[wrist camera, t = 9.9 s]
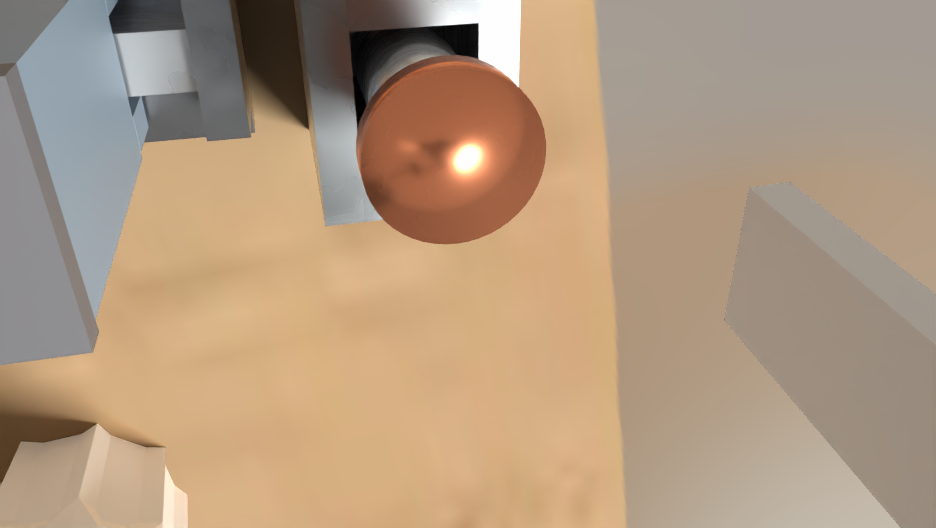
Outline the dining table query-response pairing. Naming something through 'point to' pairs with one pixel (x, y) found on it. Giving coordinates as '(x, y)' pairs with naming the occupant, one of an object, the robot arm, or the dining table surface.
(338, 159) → the gauge cabinet
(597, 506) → the dining table surface
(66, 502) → the cup
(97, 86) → the grey rectangular block
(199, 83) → the rail
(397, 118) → the plunger
